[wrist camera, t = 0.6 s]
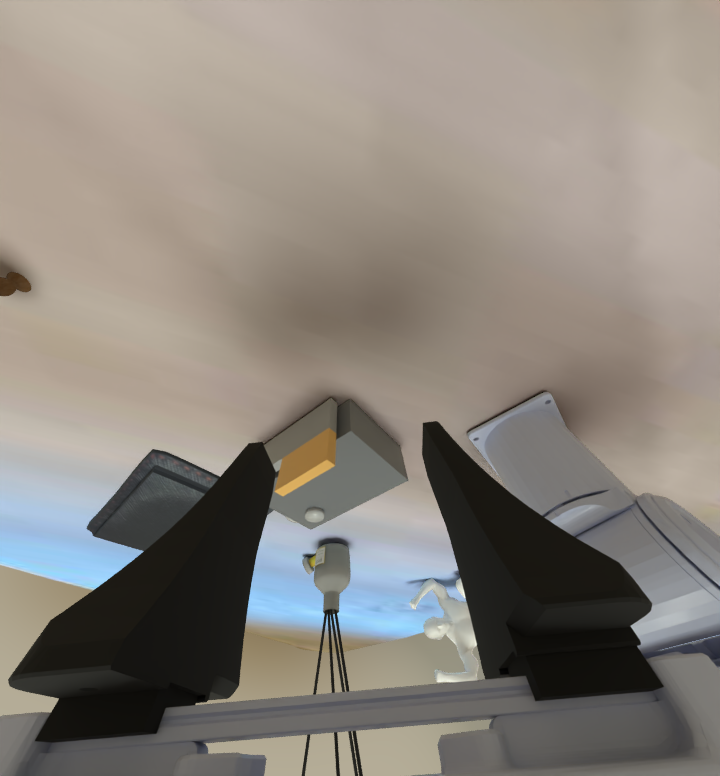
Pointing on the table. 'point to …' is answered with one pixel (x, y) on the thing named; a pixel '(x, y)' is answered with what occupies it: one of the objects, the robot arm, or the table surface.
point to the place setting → (13, 284)
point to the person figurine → (451, 629)
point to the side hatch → (305, 448)
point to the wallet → (152, 500)
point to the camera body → (346, 472)
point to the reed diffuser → (331, 582)
